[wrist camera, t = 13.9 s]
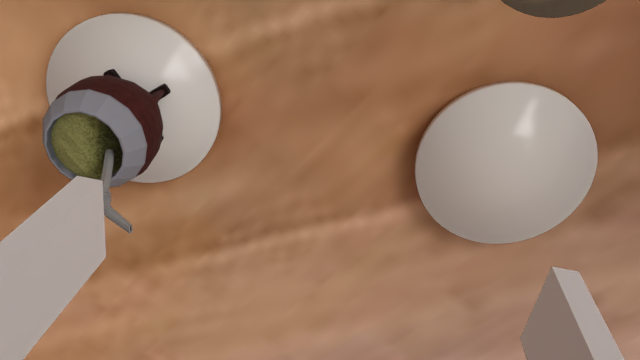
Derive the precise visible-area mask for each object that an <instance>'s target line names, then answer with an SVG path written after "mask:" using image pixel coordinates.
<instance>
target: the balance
mask: <svg viewBox="0 0 640 360" xmlns="http://www.w3.org/2000/svg"><path fill="white" fill-rule="evenodd" d="M501 1H502V2H504V3H505V4H507V5H508V6H510V7H512V8H513V9H515V10H517V11H520V12H522V13H525V14H528V15H532V16H536V17H545V18H555V17H564V16H571V15H574V14H578V13H581V12H584V11H586V10H589V9H591V8H593V7H595V6H597V5H599V4H601V3H603V2H604V1H606V0H501Z"/></svg>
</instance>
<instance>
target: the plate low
mask: <svg viewBox="0 0 640 360" xmlns="http://www.w3.org/2000/svg"><path fill="white" fill-rule="evenodd" d="M111 69H115V71H116V72H117V73H118V74H119V76H120V77H121V78H122V79H125V80H128V81H132V82H134V83H136V84H137V85H139V86H140V87H142V88H143V89H145V90H146V91H148V92H150V91H152V90H153V89H155V88H157V87H158V86H160V85H162V84H164V83H165V84H166V85H167V86H168V87H169V89H170V91H171V92H170V93H169V94H168V95H167V96H165V97H164V98H162V99H160V100H159V101H158V105H159V108H160V112H161V117H162V121H163V132H162V135H163V137H164V139H163V140H162V142H161V145H160V149H159V151H158V153H157V154H156V156H155V158H154V159H153V161H152V162H151V164H150V165H149V167H148V168H147V170H145V171H144V172H143V173H142V174H140V175H138V176H137V177H135V178H133V179H132V180H130V181H133V182H141V183H156V182H164V181H168V180H172V179H175V178H177V177H180V176H182V175H184V174H186V173H187V172H189V171H191V170H192V169H193V168H194V167H196V166H197V165H198V164H199V163H200V162H201V161H202V160H203V159H204V157H205V156H206V155H207V153H208V152H209V150H210V149H211V147H212V146H213V144H214V142H215V140H216V137H217V135H218V132H219V128H220V124H221V117H222V104H221V96H220V91H219V88H218V84H217V81H216V79H215V76H214V74H213V72H212V70H211V68H210V66H209V64H208V62H207V61H206V59H205V58H204V57H203V55H202V54H201V52H200V51H199V50H198V49H197V48H196V47H195V46H194V45H193V43H192V42H191V41H189V40H188V39H187V38H186V37H185V36H184V35H183V34H181V33H180V32H178V31H177V30H175V29H174V28H173V27H171V26H169V25H167V24H165V23H163V22H161V21H159V20H157V19H154V18H151V17H149V16H145V15H141V14H136V13H127V12H119V13H109V14H103V15H100V16H97V17H94V18H91V19H88V20H86V21H84V22H82V23H80V24H78V25H76V26H75V27H74V28H72V29H71V30H70V31H68V32H67V33H66V34H65V35H64V37H63V38H62V39H61V40H60V41H59V43H58V44H57V46H56V47H55V49H54V51H53V53H52V55H51V58H50V61H49V65H48V68H47V76H46V90H47V97H48V102H49V106H50V105H51V103H52V102H53V101H54V100H55V99H56V97H57V96H58V95H59V94H60V93H61V92H62V91H64V90H65V89H67V88H68V87H70V86H72V85H73V84H75V83H76V82H78V81H80V80H82V79H84V78H87V77H90V76H104V75H103V74H104V72H106V71H107V70H111Z"/></svg>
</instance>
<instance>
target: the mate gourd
mask: <svg viewBox="0 0 640 360" xmlns="http://www.w3.org/2000/svg"><path fill="white" fill-rule="evenodd" d="M103 75H104V76H90V77H87V78H84V79H82V80H80V81H78V82H76V83H75V84H73V85H72V86H70V87H68V88H67V89H65V90H64V91H62V92H61V93H60V94H59V95H58V96H57V97H56V99H55V100H54V101H53V102H52V103H51V105H50V107H49V109H48V111H47V113H46V114H45V116H44V118H43V144H44V146H45V149H46V152H47V154H48V157H49V159H50V161H51V162H52V163H53V164H54V165H55V167H56V168H57V169H58V170H59V171H60V173H62V174H63V175H65V176H66V177H68V178H69V179H71V180H73V179H74V178H75V177H76V176H81V177H86V178H91V179H97V180H102V181H103V202H104V215H105V216H106V217H107V218H108V219H110V220H111V221H113V222H114V223H116V224H117V225H118V226H120V227H121V228H123V229H124V230H125V231H127V232H129V233H132V224H130V223H129V222H128V221H127V220H126V219H125V218H123V217H122V216H121V215H120V214H119V213H118V212H116V211H115V210H114V209H113V208H112V207H111V205H110V203H111V193H110V191H109V188H110V187H118V186H121V185H122V184H124V183H126V182H128V181H130V180H132V179H133V178H135V177H137V176H138V175H140V174H142V173H143V172H144V171H145V170H147V168H148V167H149V165H150V164H151V162H152V161H153V159H154V158H155V156H156V154H157V153H158V151H159V149H160V145H161V142H162V140H163V139H164V137H163V135H162V132H163V121H162V117H161V112H160V108H159V105H158V101H159V100H160V99H162V98H164V97H165V96H167V95H168V94H169V93H170V92H171V91H170V89H169V87H168V86H167V85H166V84H165V83H164V84H162V85H160V86H158V87H157V88H155V89H153V90H152V91H150V92H148V91H146V90H145V89H143V88H142V87H140V86H139V85H137V84H136V83H134V82H132V81H128V80H125V79H122V78H121V77H120V76H119V74H118V73H117V72H116V71H115V69H111V70H107V71H106V72H104V74H103Z"/></svg>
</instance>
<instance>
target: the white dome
mask: <svg viewBox="0 0 640 360" xmlns="http://www.w3.org/2000/svg"><path fill="white" fill-rule="evenodd" d="M597 159H598V151H597V142H596V139H595V135H594V132H593V130H592V128H591V125H590V123H589V122H588V120H587V119H586V117H585V116H584V114H583V113H582V112H581V111H580V110H579V109H578V108H577V107H576V106H575V105H574V104H573V103H572V102H571V101H570V100H569V99H567V98H566V97H565V96H563V95H562V94H560V93H558V92H557V91H555V90H553V89H551V88H548V87H546V86H543V85H539V84H535V83H531V82H523V81H504V82H497V83H491V84H487V85H484V86H480V87H478V88H475V89H473V90H470V91H468V92H466V93H464V94H463V95H461V96H459V97H457V98H456V99H454V100H453V101H452V102H450V103H449V104H448V105H446V106H445V107H444V108H443V109H442V110H441V111H440V112H439V113H438V114H437V115H436V116H435V117H434V119H433V120H432V121H431V122H430V124H429V125H428V127H427V128H426V130H425V132H424V134H423V136H422V138H421V140H420V143H419V146H418V149H417V153H416V158H415V178H416V184H417V189H418V192H419V196H420V198H421V200H422V203H423V205H424V206H425V208H426V209H427V211H428V213H429V214H430V215H431V216H432V217H433V218H434V220H435V221H437V222H438V223H439V224H440V225H441V226H442V227H444V228H445V229H447V230H448V231H450V232H451V233H453V234H455V235H457V236H459V237H462V238H465V239H467V240H471V241H475V242H480V243H488V244H505V243H513V242H518V241H523V240H526V239H530V238H533V237H535V236H538V235H540V234H542V233H545V232H546V231H548V230H550V229H552V228H554V227H555V226H557V225H558V224H559V223H561V222H562V221H564V220H565V219H566V218H567V217H568V216H569V215H570V214H571V213H573V211H574V210H575V209H576V208H577V207H578V206H579V205H580V203H581V202H582V200H583V199H584V198H585V196H586V195H587V193H588V191H589V189H590V187H591V185H592V182H593V179H594V176H595V173H596V168H597Z"/></svg>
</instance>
